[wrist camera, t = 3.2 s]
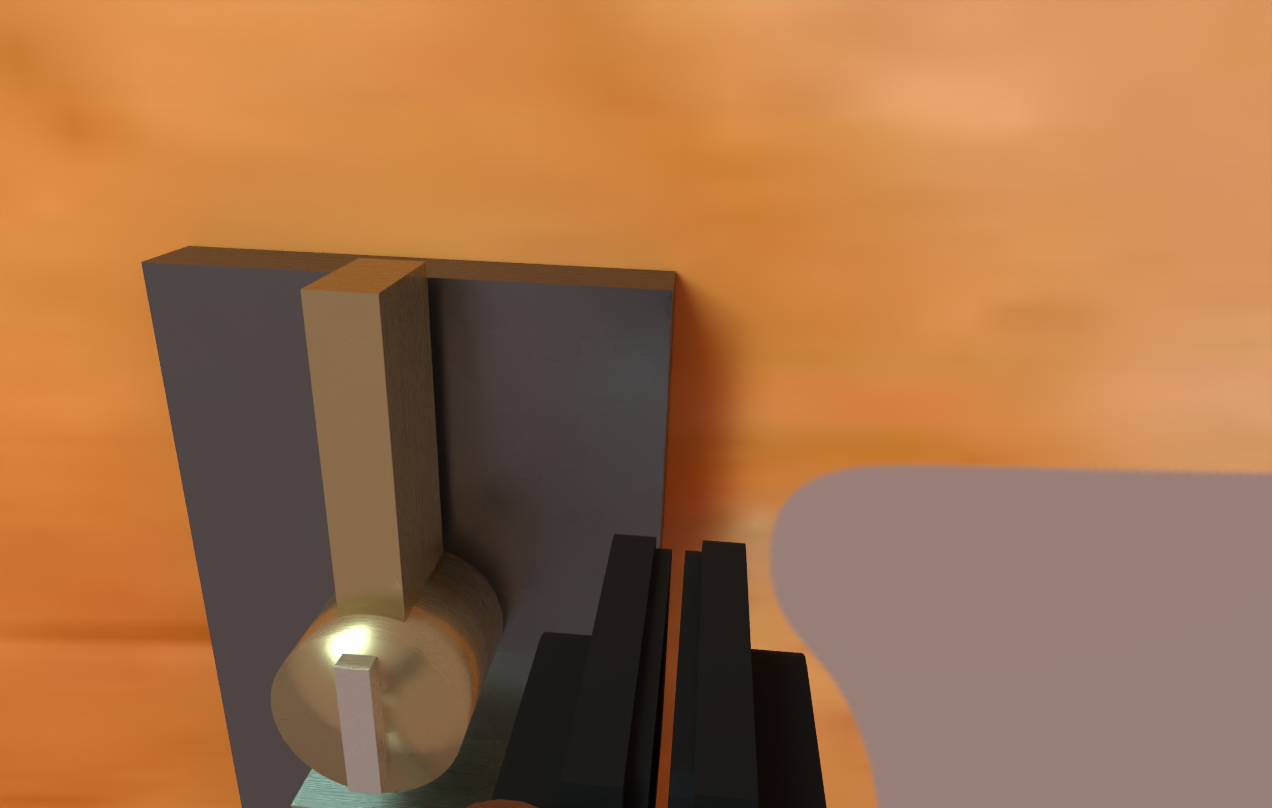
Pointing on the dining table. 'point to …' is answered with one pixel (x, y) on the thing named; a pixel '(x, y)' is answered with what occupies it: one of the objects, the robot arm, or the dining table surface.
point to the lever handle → (383, 550)
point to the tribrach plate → (467, 462)
